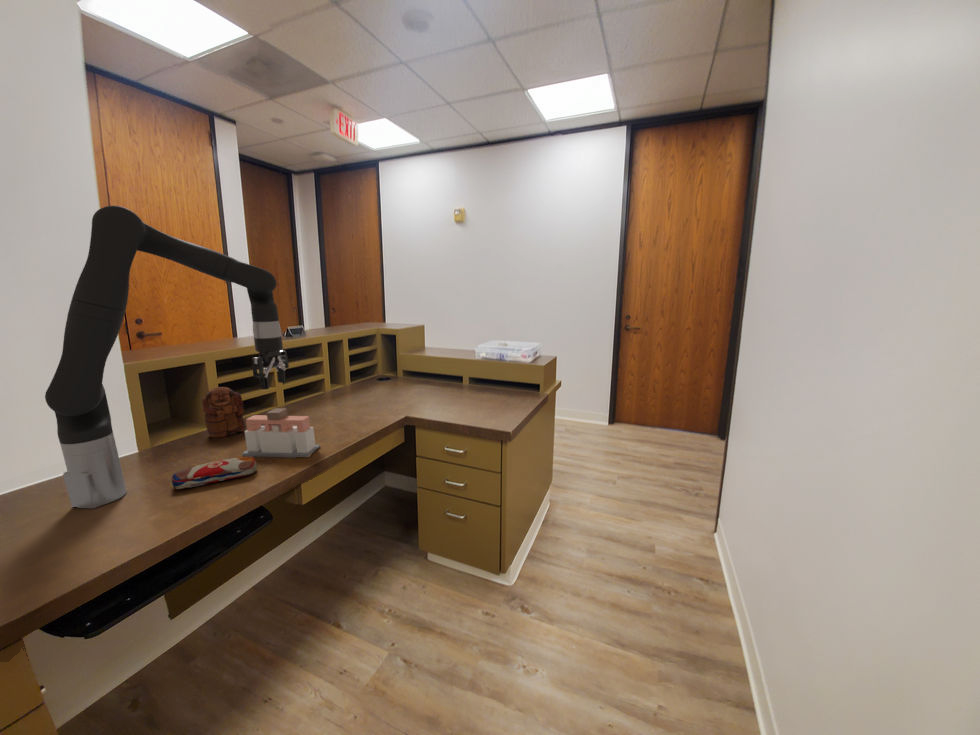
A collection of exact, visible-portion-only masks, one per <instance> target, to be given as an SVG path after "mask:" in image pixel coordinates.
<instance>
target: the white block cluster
mask: <svg viewBox="0 0 980 735" xmlns="http://www.w3.org/2000/svg"><path fill="white" fill-rule="evenodd" d="M292 426H293V427H292V428H291V429H289V430H288V431H286V432H282V428H281V424H274V425H272V430H270V431H265V425H261V427H260V428H258V429H256V430H254V431H247V429H245V431H244V438H245V443H246V450H245V451H243V452H242V453H241V457H245V456H251V457H264V458H266V457H267V458H269V457H270V458H296V457H308V456H309V455H310V454H311V453H313V452H314V451H315V450H316V449H317V448H319V447H320V448H321V444H316V438H315V431H314V426H310V428H309V429H308V430H306V431H305V432H298V430H297V425H292ZM320 448H319V449H320ZM316 451H317V450H316ZM316 451H315V452H316ZM315 452H314V453H315ZM314 453H313V454H314ZM310 456H311V455H310ZM310 456H309V457H310ZM309 457H308V458H309Z"/></svg>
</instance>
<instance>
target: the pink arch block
mask: <svg viewBox="0 0 980 735" xmlns="http://www.w3.org/2000/svg"><path fill="white" fill-rule="evenodd" d="M245 423H246V424H245V425H246V430H247V431H254V430H256V429H258V428H260V427H261V426H262V425H263V426H265V431H270V430H272V425H274V424H281V428H282V432H286V431H288V430H289V429H291V428H292V427H293V426H297V430H298V432H305V431H306V430H308V429H309V428H310V427H311V421H310V416H308V415H288V408H281V407H280V408H278V407H277V408H276V407H275V408H273V409H271V410H269V411H268V412H266V415H264V414H263V415H261V414H258V415H257V414H256V415H255V414H254V415H252V416H250V417H247V418H246V419H245Z"/></svg>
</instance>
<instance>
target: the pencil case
mask: <svg viewBox="0 0 980 735" xmlns="http://www.w3.org/2000/svg"><path fill="white" fill-rule="evenodd" d="M255 460H256V459H255V456H240V457H233V458H228V459H227V458H226V459H222V460H216V461H210V462H207V463H206V462H205V463H203V464H198V465H194V466H191V467H188V468H185V469H181V470H179V471H176V472H174V473H172V475H171V484H172V488H173V489H174V490H175V489H176V490H183V489H189V488H194V487H199V486H204V485H208V484H211V483H218V482H221V481H226V480H230V479H235V478H241V477H246V476H251V475H252V474H254V473H255V472H256V471H257V469H258V468H257V467H258V466H257V462H256V461H255Z"/></svg>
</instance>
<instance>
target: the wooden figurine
mask: <svg viewBox="0 0 980 735" xmlns="http://www.w3.org/2000/svg"><path fill="white" fill-rule="evenodd" d="M202 406H203V407H202V408H203V409H202V410H203V412H204V413H205V414H204V421H205V427H206V430H207V434H208V436H209V437H210V438H226V437H227V436H233V435H237V434H238V433H241V432H244V431H246V426H245V425H246V424H245V421H244V415H245V410H244V409H245V408H244V403H243V397H242V395H241V393H239V392H236V391H234V390H233V389H231V388H229V387H228V386H227V387H226V386H218V387H217V386H216V387H214V388H212V389H210V390H209V391H207V393H205V396H204V398H203V399H202ZM244 433H245V432H244Z"/></svg>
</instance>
